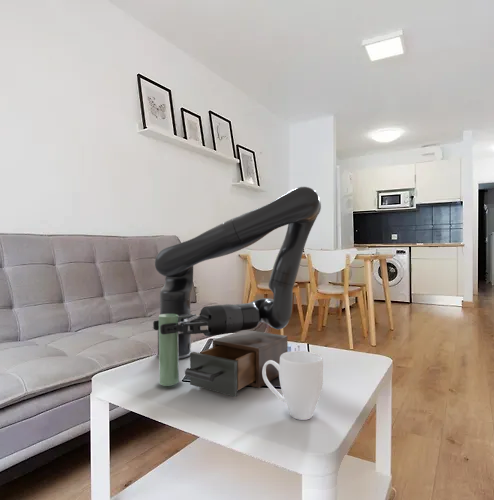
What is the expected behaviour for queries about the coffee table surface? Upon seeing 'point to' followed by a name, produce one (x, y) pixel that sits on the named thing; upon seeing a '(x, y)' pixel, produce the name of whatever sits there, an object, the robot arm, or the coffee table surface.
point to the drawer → (222, 369)
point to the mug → (298, 382)
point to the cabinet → (258, 350)
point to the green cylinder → (168, 352)
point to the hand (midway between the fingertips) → (157, 327)
